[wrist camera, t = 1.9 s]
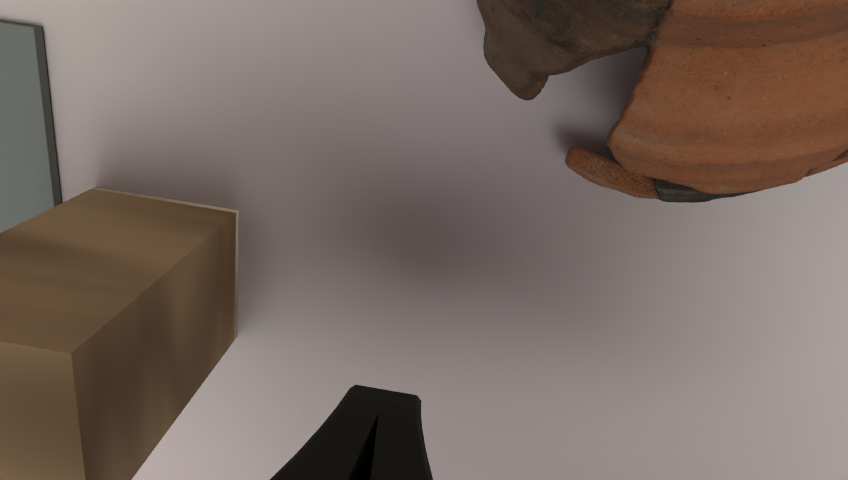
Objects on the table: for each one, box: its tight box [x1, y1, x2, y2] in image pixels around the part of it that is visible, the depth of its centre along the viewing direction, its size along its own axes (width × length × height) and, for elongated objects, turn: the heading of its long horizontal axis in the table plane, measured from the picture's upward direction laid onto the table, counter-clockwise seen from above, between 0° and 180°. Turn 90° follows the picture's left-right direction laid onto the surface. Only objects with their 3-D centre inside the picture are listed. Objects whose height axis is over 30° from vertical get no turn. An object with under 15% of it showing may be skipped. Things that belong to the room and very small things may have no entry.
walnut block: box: [0, 187, 239, 480], centre depth 14 cm, size 4×4×7 cm
